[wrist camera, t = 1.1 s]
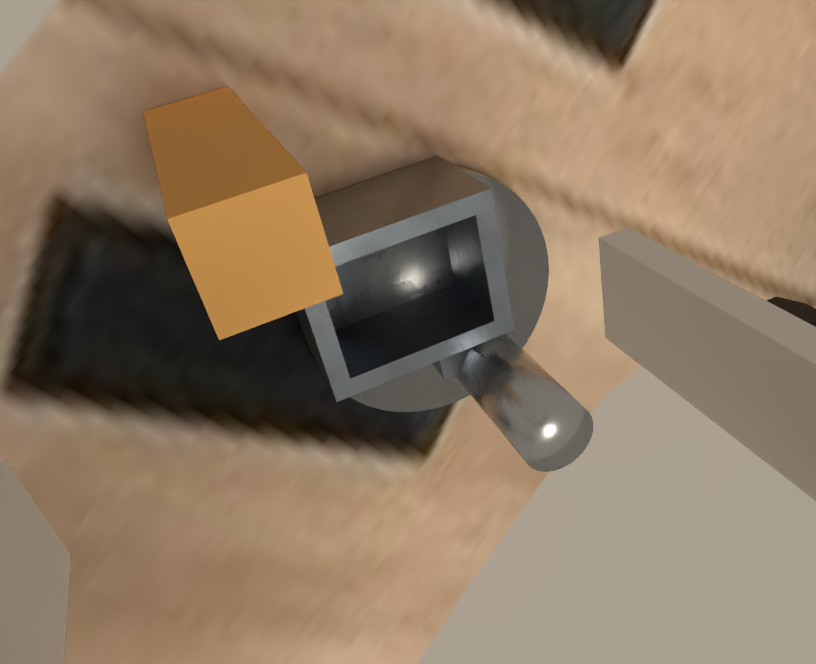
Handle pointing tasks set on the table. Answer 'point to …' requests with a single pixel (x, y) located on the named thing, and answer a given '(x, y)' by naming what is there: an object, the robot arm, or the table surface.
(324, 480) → the table surface
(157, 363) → the table surface
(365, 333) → the bracket
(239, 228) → the orange rectangular block
